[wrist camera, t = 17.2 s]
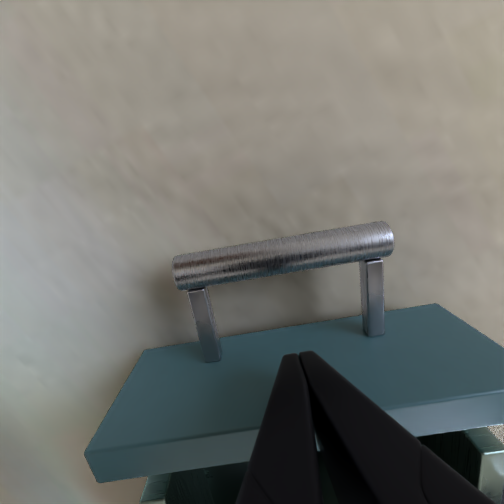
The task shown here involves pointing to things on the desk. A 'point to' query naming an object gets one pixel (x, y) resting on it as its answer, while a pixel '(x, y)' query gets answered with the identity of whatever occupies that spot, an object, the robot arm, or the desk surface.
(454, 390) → the drawer
